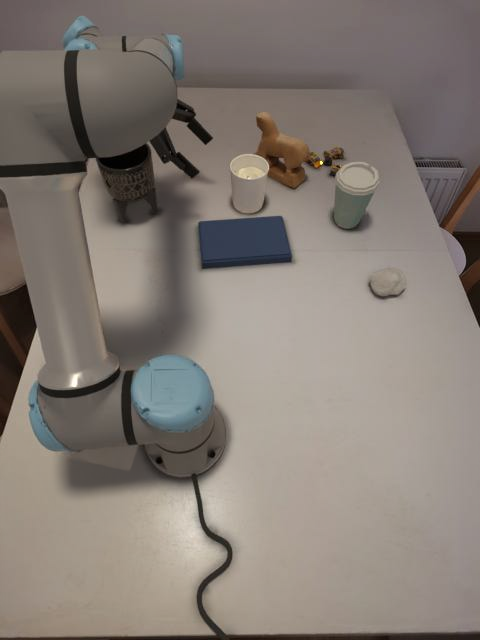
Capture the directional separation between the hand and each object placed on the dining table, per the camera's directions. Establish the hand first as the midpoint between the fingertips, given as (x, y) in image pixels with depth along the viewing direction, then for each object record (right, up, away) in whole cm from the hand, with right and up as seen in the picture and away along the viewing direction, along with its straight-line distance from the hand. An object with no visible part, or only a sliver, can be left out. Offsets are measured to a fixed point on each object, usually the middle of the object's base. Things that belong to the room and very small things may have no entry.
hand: (202, 157), depth 106 cm
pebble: (+44, -32, -3) cm, 54 cm away
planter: (-19, -11, +10) cm, 23 cm away
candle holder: (+11, -8, +12) cm, 18 cm away
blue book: (+10, -21, +4) cm, 23 cm away
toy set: (+36, +7, +22) cm, 43 cm away
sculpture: (+20, +3, +19) cm, 28 cm away
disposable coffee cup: (+37, -13, +9) cm, 41 cm away
